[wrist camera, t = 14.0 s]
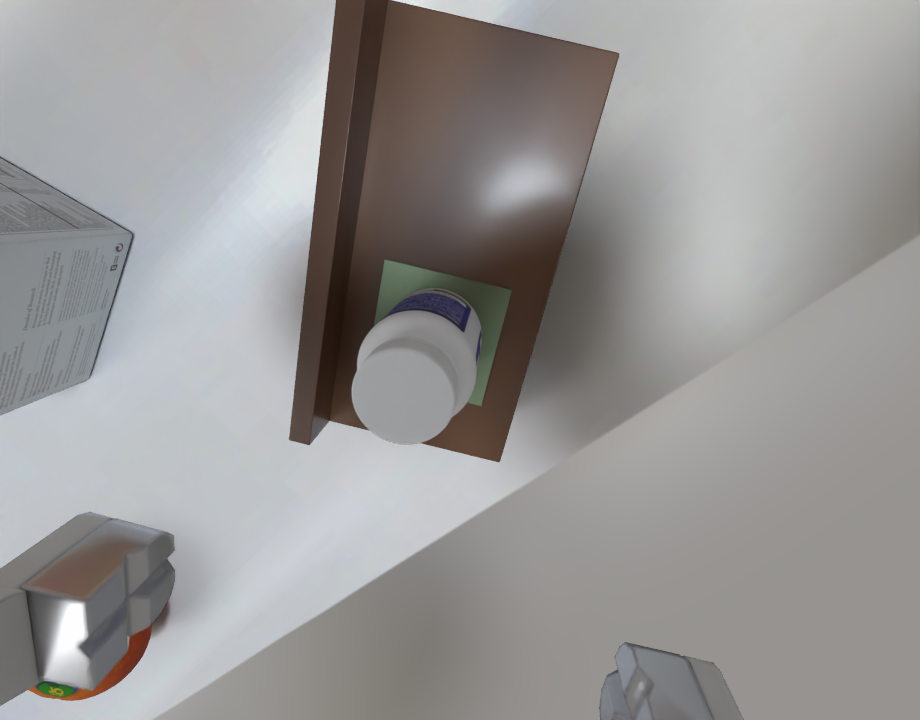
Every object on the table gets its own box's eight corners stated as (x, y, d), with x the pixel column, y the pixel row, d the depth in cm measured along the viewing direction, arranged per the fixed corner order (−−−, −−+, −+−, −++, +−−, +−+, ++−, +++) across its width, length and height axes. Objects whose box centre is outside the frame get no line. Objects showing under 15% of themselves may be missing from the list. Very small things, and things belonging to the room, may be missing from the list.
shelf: (594, 86, 26) (639, 27, 17) (500, 419, 33) (499, 492, 25) (393, 39, 26) (340, -42, 18) (343, 381, 33) (288, 440, 25)
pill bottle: (371, 314, 25) (305, 368, 17) (453, 269, 24) (425, 302, 15) (420, 393, 26) (381, 479, 18) (499, 353, 25) (497, 426, 17)
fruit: (46, 562, 42) (-54, 639, 34) (134, 536, 40) (48, 612, 32) (110, 644, 45) (30, 732, 37) (194, 624, 43) (129, 713, 35)
